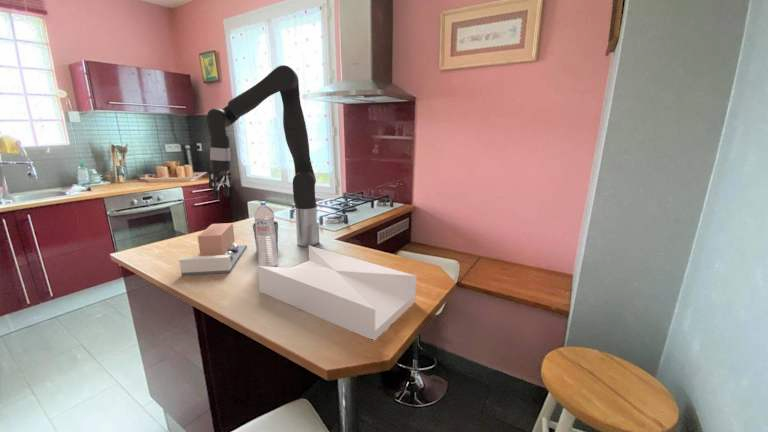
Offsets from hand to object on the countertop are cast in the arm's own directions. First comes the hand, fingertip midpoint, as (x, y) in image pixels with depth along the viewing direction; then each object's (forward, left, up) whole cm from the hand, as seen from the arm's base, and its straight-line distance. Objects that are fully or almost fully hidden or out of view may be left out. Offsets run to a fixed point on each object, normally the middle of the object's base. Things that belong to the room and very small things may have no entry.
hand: (221, 197), depth 135 cm
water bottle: (-31, +11, -22) cm, 40 cm away
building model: (-66, +22, -23) cm, 73 cm away
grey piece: (-9, +14, -22) cm, 27 cm away
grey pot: (-20, -2, -22) cm, 30 cm away
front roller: (-10, +15, -21) cm, 28 cm away
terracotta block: (-8, +11, -18) cm, 23 cm away
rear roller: (-6, +8, -21) cm, 23 cm away
